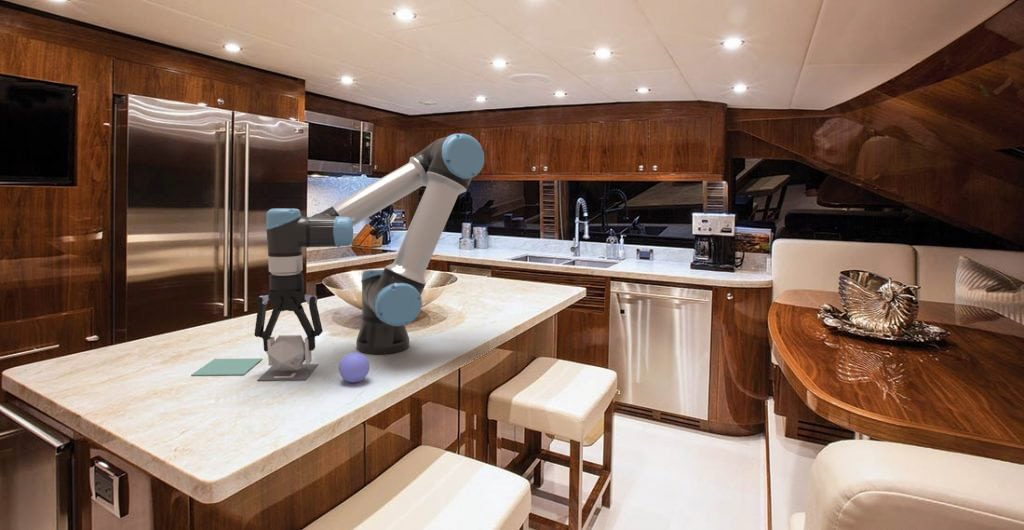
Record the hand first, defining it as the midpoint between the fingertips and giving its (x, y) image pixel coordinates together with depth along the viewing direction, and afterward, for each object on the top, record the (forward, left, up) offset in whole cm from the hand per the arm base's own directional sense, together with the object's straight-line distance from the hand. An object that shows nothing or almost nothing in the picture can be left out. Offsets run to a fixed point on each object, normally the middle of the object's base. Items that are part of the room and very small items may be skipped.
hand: (290, 363), depth 125 cm
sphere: (-17, +7, -3) cm, 18 cm away
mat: (+16, -4, -2) cm, 17 cm away
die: (0, 0, -1) cm, 1 cm away
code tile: (0, 0, -2) cm, 2 cm away
